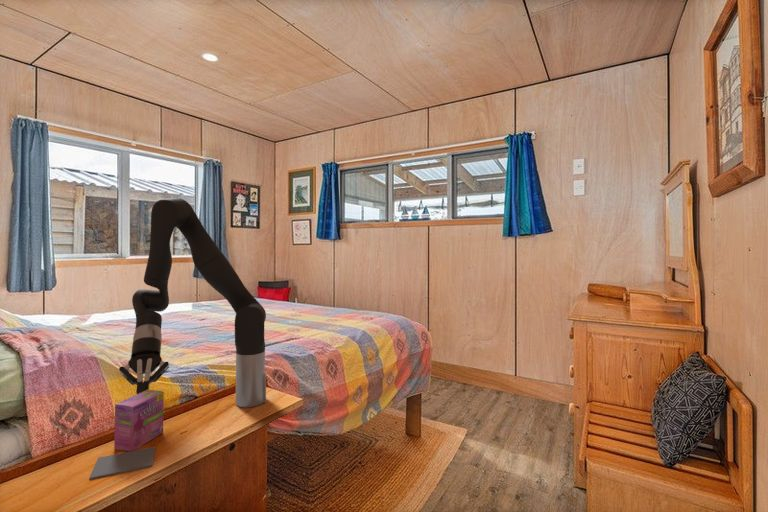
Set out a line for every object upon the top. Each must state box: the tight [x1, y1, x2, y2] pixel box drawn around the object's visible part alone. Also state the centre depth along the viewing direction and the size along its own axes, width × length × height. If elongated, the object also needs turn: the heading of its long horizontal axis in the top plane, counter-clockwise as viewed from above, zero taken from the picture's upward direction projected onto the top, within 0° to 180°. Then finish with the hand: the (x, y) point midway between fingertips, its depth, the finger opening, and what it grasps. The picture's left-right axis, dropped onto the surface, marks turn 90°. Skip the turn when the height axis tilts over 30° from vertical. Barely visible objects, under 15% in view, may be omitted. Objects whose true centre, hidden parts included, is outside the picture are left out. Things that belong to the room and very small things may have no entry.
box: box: [113, 389, 165, 452], centre depth 100 cm, size 10×6×12 cm, turn 168°
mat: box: [88, 446, 156, 481], centre depth 90 cm, size 12×9×1 cm
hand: (142, 396), depth 105 cm, fingers closed
